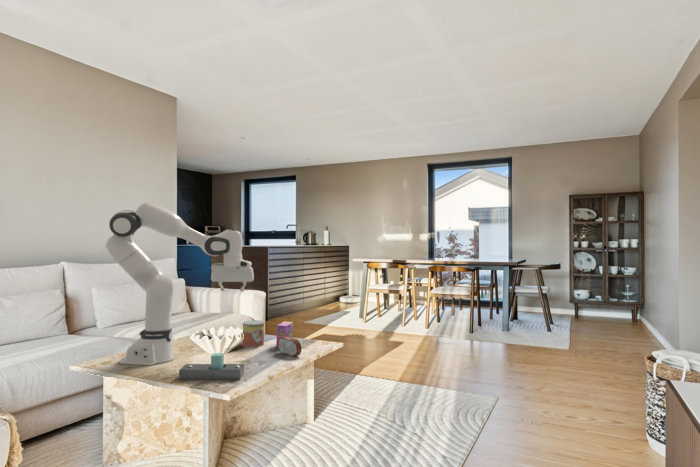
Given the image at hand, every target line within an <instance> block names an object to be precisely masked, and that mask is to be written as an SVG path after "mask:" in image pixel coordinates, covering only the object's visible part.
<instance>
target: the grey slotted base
mask: <svg viewBox="0 0 700 467" xmlns="http://www.w3.org/2000/svg"><path fill="white" fill-rule="evenodd" d="M178 370H179V371H178V372H179V373H178V380H179V381H240V380H242V378H243V376H244V375H245V363H224V366H223V369H211V363H185V364H184V365H183V366H182V367H181V368H179V369H178Z"/></svg>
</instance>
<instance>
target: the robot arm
mask: <svg viewBox="0 0 700 467" xmlns="http://www.w3.org/2000/svg"><path fill="white" fill-rule="evenodd" d="M108 224H109V229H110V231H111V233H113V235H112V236H110V237H109V238H108V239H107V241H106V242H105V248H106V249H107V251H108V253H109V254H110V256H111V257H112V258H113V260H114V261H115V262H116V263H117V264H118V265H119V266H120V267H121V269H123V271H125V273H126V274H128V276H129V277H130V278H132V280H133V281H135V283H136V284H137V285H138V286H139V287H140V288H141V289H142V290H143V291H144V292H145V293H146V296H145V311H144V312H145V313H144V329H143V330H141V331H140V332H139V333H138V334H139V336H140V338H138V339H137V340H136V341H135V342H134V343H132V344H130V345H129V346H128V348H127V350H126V354H125V356H124V357H123V358H121V359H120V361H119V364H120V365H121V364H122V365H136V366H137V365H138V366H152V365H153V366H154V365H157V364H162V363H166V362H170V361H172V360H174V359H175V356H174V352H173V345H172V339H173V328H172V308H173V298H174V284H173V282H172V281H171V279H169V278H168V277H167V276H166V275H165V274H164V273H163V272H162V271H161V270H160V269H159V268H158V266H157V264H155V263H154V262H153V261H152V259H151V258H150V257H149V256H148V255H147V254H146V253H145V252H144V251H143V250H142V249H141V247H139V245H138V244H137V243H136V242H135V241H134V239H133V236H134V235H135V233H136V232H137V231H138V230H139V229H140V228H141V227H145V228H148V229H150V230H152V231H155V232H157V233H159V234H162V235H165V236H168V237H173V238H180V239H183V240H185V241H187V242H189V243H191V244H193V245H195V246H197V247H198V248H200V249H201V250H202V252H203V253H204V254H205V255H207V256H210V257H217V256H220V255H222V256H223V262H214V263H212V264H211V267H210V270H211V274H210V280H211V281H212V282H213V283H215V282H217V284H218V286H219V288H220V291H221V292H225V287H224V286H223V285H222V284H223V282H224V283H225V282H226V283H230V282H231V283H233V282H234V283H235V282H236V283H240V282H241V283H242V284H243V285H242V286H241V287H240V292H245V287H246V285H247V283H252V282H254V279H255V276H254V275H255V273H254V268H253V267H252V264H253V263H252V261H250V260H249V261H248V260H247V259H243V253H242V251H243V234H242V233H241V231H239V230H236V229H230V228H229V229H225V230H223V231H222V232H220V233H218V234H213V235H208V234H207V235H206V234H204V233H202V232H199V231H197V230H195V229H194V228H192V227H190V226H189V225H187V224H186V222H185V221H184V220H183V219H182V218H181V217H180V216H179V215H178V214H177V213H174V212H173V211H171V210H170V209H167V208H166V207H162V206H160V205H158V204H155V203H152V202H144V203H142V204H140V205H139V207H137V209H136V210H135V211H134V210H130V209H129V210H127V209H124V210H121V211H118V212H117V213H115V214H113V216H112V217H111V218H110V220H109V223H108Z"/></svg>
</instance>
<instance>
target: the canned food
mask: <svg viewBox="0 0 700 467" xmlns="http://www.w3.org/2000/svg"><path fill="white" fill-rule="evenodd" d="M243 334H244V339H243V338H242V347H244V348H259V346H260V347H263V346H265V321H264V320H258V319H257V320H256V319H255V320H254V319H253V320H246V321H242V335H243Z"/></svg>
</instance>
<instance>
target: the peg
mask: <svg viewBox="0 0 700 467" xmlns="http://www.w3.org/2000/svg"><path fill="white" fill-rule="evenodd" d="M224 355H225V354H224V352H223V353H220V352H219V353H216V352H215V353H213V354H212V355H211V356H210V364H211V369H223V366H224V364H225V363H224V358H225V356H224Z"/></svg>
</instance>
